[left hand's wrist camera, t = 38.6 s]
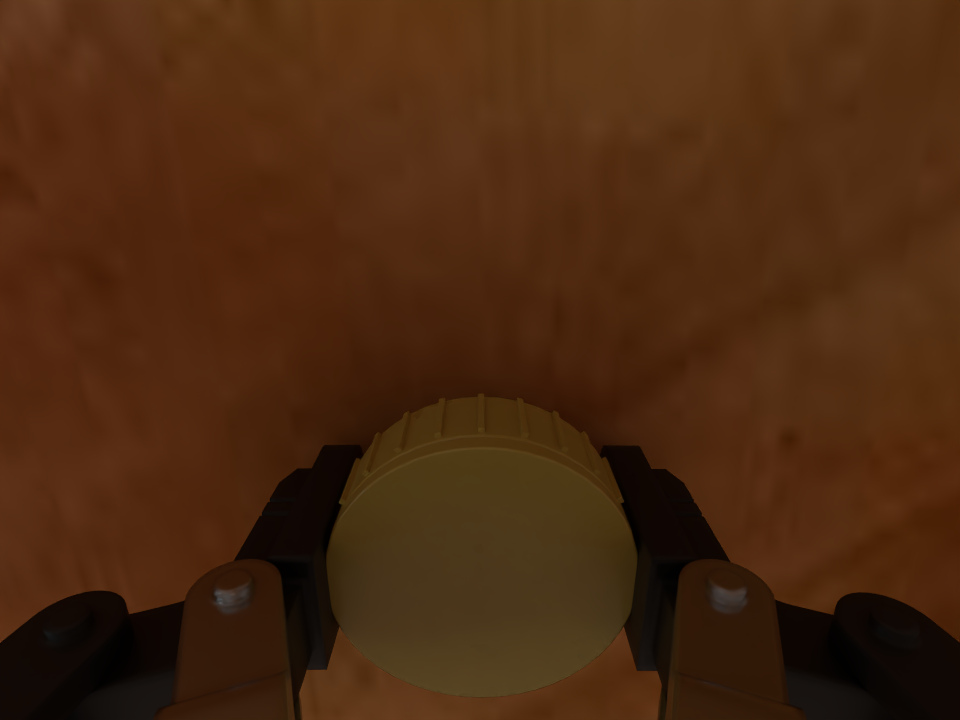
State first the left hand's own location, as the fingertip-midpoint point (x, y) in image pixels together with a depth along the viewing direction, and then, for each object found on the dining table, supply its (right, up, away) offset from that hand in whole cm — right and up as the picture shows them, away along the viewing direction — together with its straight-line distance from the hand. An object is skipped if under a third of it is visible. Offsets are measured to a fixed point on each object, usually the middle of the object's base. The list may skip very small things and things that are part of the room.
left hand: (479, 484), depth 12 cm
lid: (0, -1, -3) cm, 3 cm away
